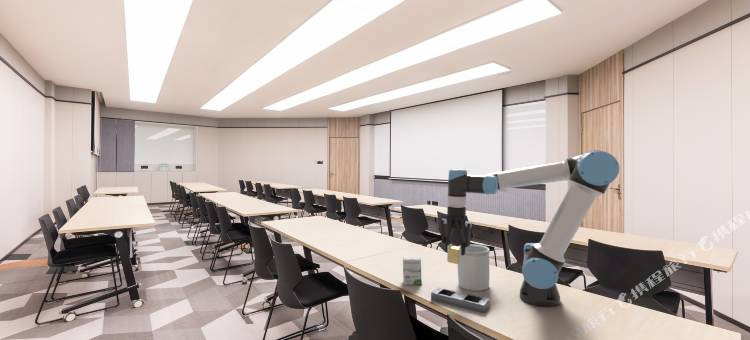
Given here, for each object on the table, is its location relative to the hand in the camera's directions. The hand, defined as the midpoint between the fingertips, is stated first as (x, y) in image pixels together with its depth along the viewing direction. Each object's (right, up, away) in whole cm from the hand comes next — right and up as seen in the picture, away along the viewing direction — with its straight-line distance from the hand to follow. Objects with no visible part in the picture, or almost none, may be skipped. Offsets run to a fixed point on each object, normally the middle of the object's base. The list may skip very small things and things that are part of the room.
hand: (454, 261), depth 138 cm
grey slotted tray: (+1, -16, -5) cm, 16 cm away
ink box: (-16, -16, +18) cm, 29 cm away
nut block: (0, 0, 0) cm, 0 cm away
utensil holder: (+12, -16, +14) cm, 24 cm away
